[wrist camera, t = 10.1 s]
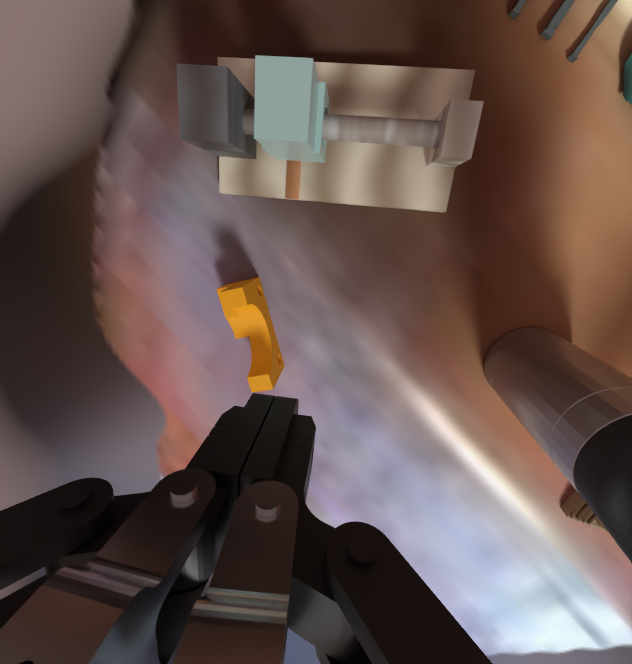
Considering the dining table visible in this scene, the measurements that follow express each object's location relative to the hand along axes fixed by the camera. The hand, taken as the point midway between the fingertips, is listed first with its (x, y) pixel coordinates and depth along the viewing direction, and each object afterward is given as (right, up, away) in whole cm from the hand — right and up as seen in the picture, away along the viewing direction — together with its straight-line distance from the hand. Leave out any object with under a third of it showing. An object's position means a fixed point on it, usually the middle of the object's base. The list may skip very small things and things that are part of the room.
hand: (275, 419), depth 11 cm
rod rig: (+3, +23, +23) cm, 32 cm away
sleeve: (0, +22, +20) cm, 30 cm away
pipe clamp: (-6, +4, +31) cm, 32 cm away
